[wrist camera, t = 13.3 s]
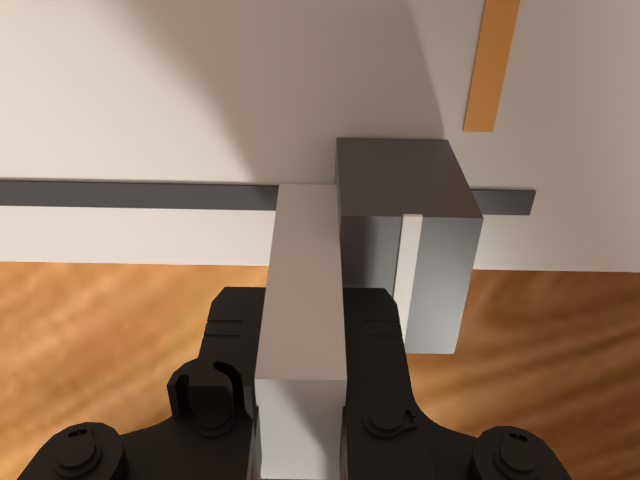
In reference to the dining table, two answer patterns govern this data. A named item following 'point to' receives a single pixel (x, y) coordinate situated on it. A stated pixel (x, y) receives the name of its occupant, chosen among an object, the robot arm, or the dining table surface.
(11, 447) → the dining table surface
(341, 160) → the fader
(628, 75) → the mixing board
